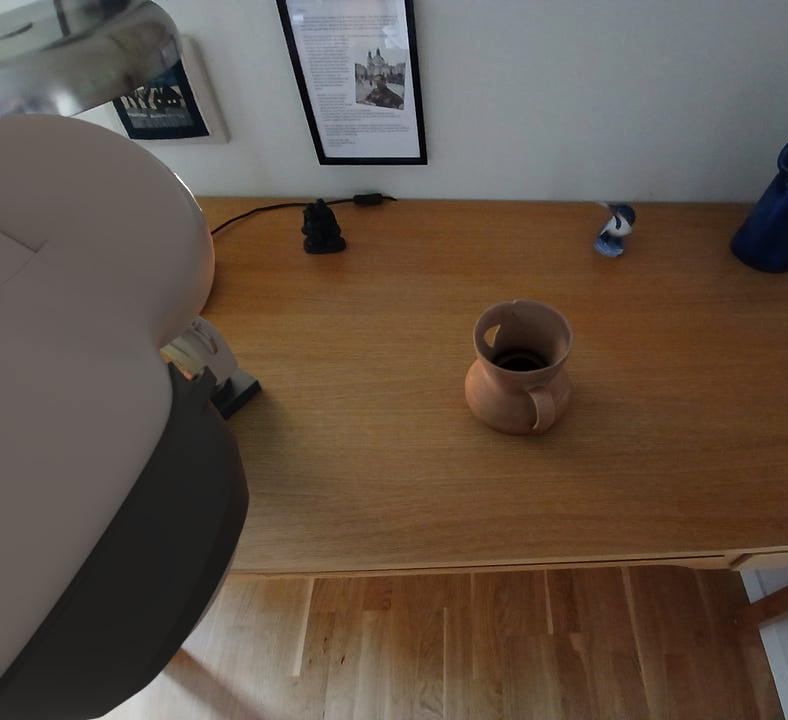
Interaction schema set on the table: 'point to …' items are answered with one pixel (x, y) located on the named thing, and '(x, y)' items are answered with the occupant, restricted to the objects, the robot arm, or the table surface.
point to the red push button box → (234, 393)
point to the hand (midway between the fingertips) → (190, 368)
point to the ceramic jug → (520, 368)
